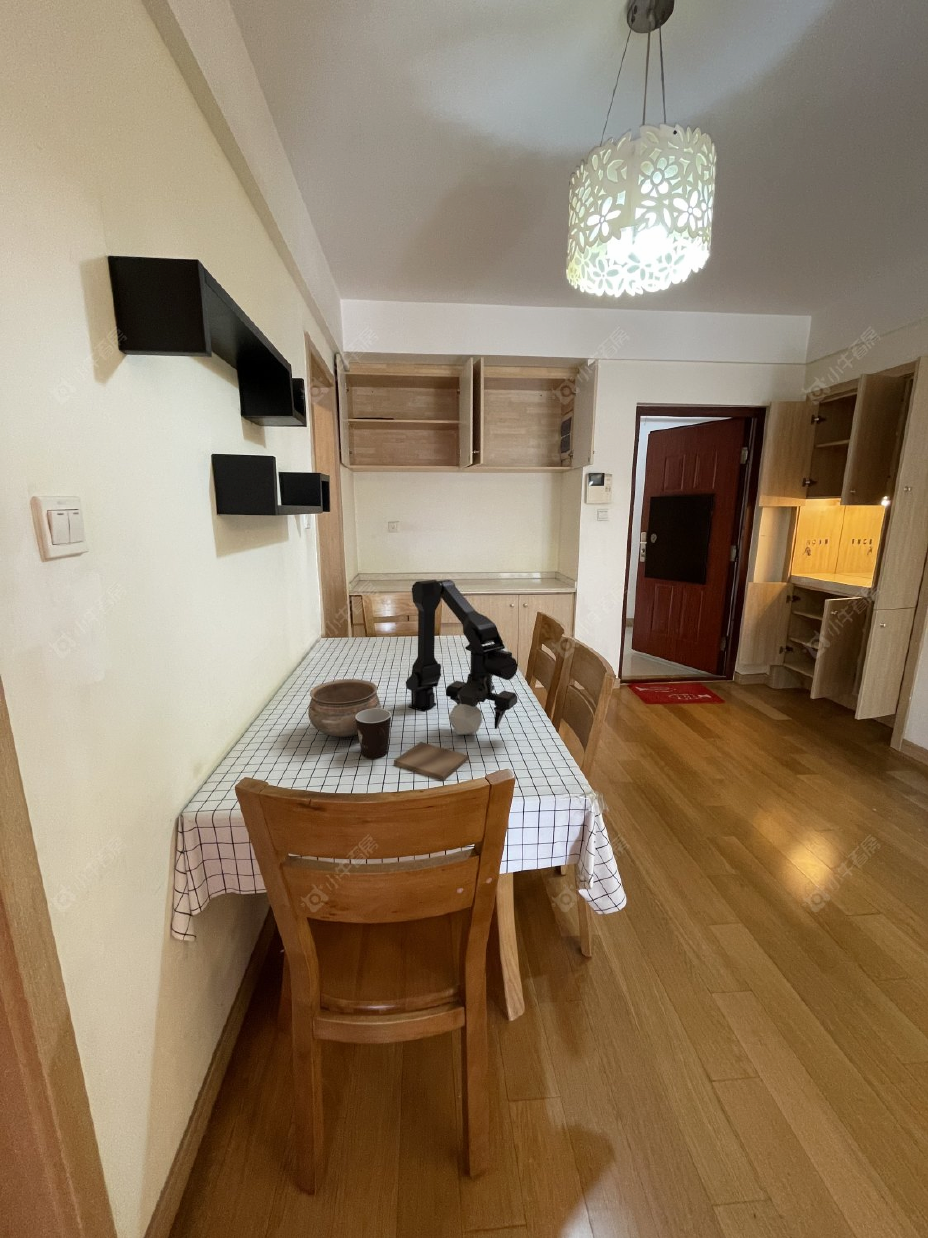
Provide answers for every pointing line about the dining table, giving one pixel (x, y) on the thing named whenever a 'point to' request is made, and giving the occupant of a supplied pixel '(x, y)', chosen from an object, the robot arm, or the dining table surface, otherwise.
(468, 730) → the die
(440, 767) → the board
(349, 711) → the cooking pot
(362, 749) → the coffee mug
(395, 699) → the dining table surface
